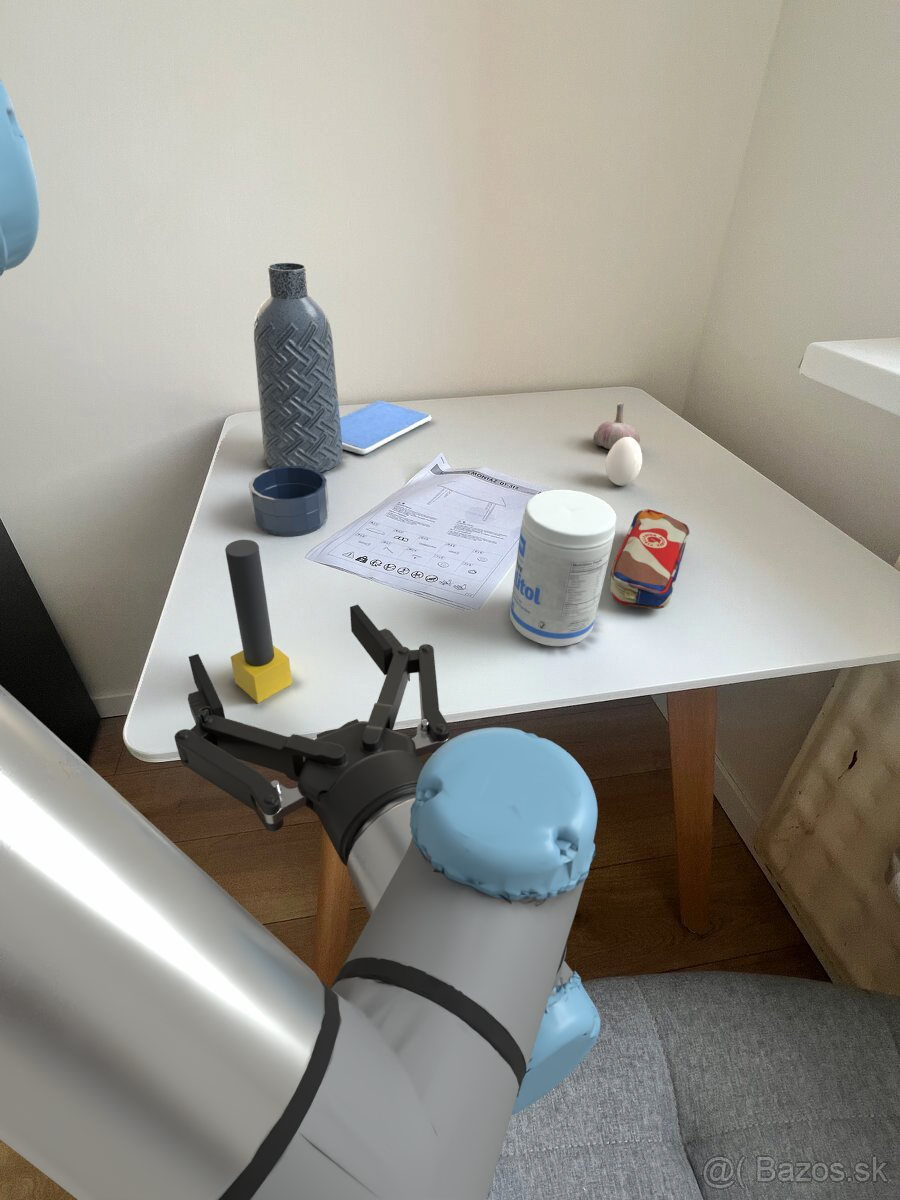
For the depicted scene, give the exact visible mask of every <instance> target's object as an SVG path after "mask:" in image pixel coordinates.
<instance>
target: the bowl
mask: <svg viewBox="0 0 900 1200" xmlns="http://www.w3.org/2000/svg"><path fill="white" fill-rule="evenodd" d="M248 488H249V495H250V496H249V497H250V504H251V510H252V516H253V519H254V521H255V523H256V525H257V527H258V528H259V529H260V530H262V531H263V532H265V533H267V534H269V535H273V536H279V537H299V536H303V535H304V536H305V535H308V534H310V533H313V532H315V531H318V530H320V529H321V528H322V527H323V526H324V525H325V524H326V522H327V520H328V516H329V513H330V505H329V504H330V503H329V489H328V480H327V478H326V477H325V475H324V473H323V472H318V471H317V470H315V469H311V468H307V467H302V466H283V467H276V468H271V467H270V468H269V469H266V470H263V471H260V472H258V473H257V474H255V475H254V476H253V477H252V478H251V479H250V482H249V483H248Z"/></svg>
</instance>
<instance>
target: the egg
mask: <svg viewBox="0 0 900 1200" xmlns="http://www.w3.org/2000/svg"><path fill="white" fill-rule="evenodd" d="M642 465H643V453H642V448H641V446H640V443H639V444H638V443H637V441H636V440H634V439H633V438H631V437H624V438H621V439H620V440H618V441H617V442H616V443H615V444H614V445H613V446H612V448H611V449H610V450H609V451H608V453H607V456H606V460H605V473H606V476H607V477H608V479H609V480H610V482H612V483H613V485H616V486H626V485H629V484H631V483H632V482H633V481H635V479H637V477H638V476H639V474H640V472H641V468H642Z"/></svg>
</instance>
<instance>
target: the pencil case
mask: <svg viewBox="0 0 900 1200" xmlns="http://www.w3.org/2000/svg"><path fill="white" fill-rule="evenodd" d="M689 535H690V529H689V526H688V525H687V524H686V523H685V522H683V521H680V520H678V519H676V518H674V517H671V516H670V515H668V514H666V513H663V512H660V511H657V510H654V509H649V508H645V509H641V510H639V511H638V512H636V513H635V515H634V516H633V519H632V522H631V524H630V527H629V529H628V531H627V534H626V537H625V539H624V541H623V542H622V544H621V546H620V548H619V550H618V552H617V555H616V557H615V559H614V561H613V564H612V567H611V569H610V577H611V580H610V585H609V592H610V594H611V596H612V597H613V598H614V600H615V601H616V602H618V603H619V604H621V605H623V606H630V607H637V608H644V609H652V610H653V609H654V610H659V609H664V608H666V607H668V605H670V602H671V599H672V593H673V592H674V589H675V586H676V582H677V578H678V574H679V571H680V567H681V563H682V559H683V556H684V552H685V549H686V544H687V540H688V538H689Z"/></svg>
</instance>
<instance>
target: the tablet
mask: <svg viewBox="0 0 900 1200" xmlns="http://www.w3.org/2000/svg"><path fill="white" fill-rule="evenodd" d="M432 419H433V418H432V415H430V414H427V413H425V412H421V411H419V410H416V409H415V410H414V409H411V408H409V407H404V406H401V405H398V404H395V403H391V402H387V401H384V400H376V401H374V402H372V403H370V404H367V405H366V406H363V407H361V408H359V409H357V410H354V411H352V412H350V413H348V414H346V415H343V416H340V426H341V436H342V450H344V451H348V452H350V453H354V454H358V455H367V454H370V453H371V452H372V451H374V450H377V449H378V448H379V447H382V446H383V445H386V444H387V443H389V442H391V441H393V440H395V439H397V438H398V437H401V436H402V435H404V434H406V433H408V432H410V431H412V430H413V429H416V428H417V427H420V426H422V425H424V424H426V423H428V422H429V421H431V420H432Z"/></svg>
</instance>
